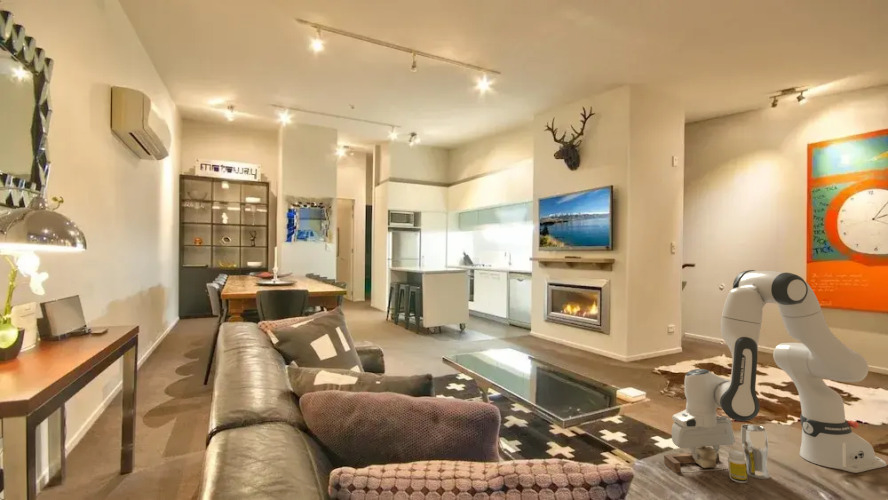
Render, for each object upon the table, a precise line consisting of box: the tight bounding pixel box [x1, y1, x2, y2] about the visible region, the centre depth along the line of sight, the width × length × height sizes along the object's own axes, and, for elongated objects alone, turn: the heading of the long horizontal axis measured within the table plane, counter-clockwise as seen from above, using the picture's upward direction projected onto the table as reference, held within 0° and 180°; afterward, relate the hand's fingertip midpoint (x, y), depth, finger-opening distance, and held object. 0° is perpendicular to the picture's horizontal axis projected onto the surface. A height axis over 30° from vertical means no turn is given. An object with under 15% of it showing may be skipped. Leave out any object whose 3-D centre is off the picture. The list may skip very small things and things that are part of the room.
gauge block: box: [695, 446, 717, 469], centre depth 138 cm, size 4×4×7 cm
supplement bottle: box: [727, 449, 748, 484], centre depth 129 cm, size 5×5×8 cm
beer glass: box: [740, 423, 770, 480], centre depth 131 cm, size 7×7×15 cm
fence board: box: [663, 452, 724, 473], centre depth 139 cm, size 20×8×3 cm, turn 92°
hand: (704, 458), depth 138 cm, fingers closed on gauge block, 4 cm apart
